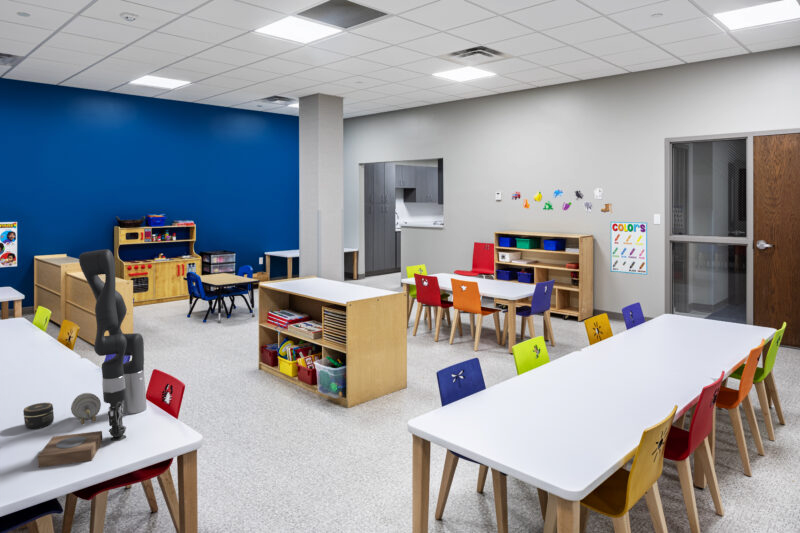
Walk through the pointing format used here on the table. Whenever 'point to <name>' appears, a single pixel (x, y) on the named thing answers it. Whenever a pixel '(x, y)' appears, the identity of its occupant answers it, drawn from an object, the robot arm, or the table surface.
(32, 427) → the jar
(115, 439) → the stone chess piece
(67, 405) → the table surface
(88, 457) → the walnut plinth
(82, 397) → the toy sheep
